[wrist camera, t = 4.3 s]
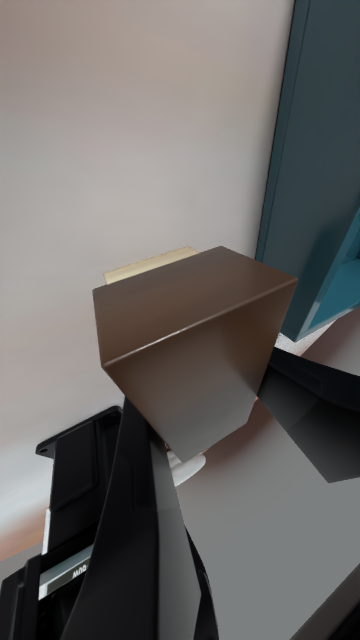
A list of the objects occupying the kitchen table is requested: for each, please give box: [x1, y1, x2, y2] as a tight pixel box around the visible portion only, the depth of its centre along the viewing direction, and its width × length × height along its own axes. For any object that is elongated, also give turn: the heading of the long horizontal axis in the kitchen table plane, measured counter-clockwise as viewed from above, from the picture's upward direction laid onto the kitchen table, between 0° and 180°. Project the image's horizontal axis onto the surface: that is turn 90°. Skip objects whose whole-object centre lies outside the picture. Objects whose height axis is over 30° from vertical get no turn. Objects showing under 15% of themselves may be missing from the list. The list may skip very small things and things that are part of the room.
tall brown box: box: [92, 246, 298, 463], centre depth 8 cm, size 10×4×5 cm, turn 9°
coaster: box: [167, 450, 206, 487], centre depth 30 cm, size 10×10×4 cm
